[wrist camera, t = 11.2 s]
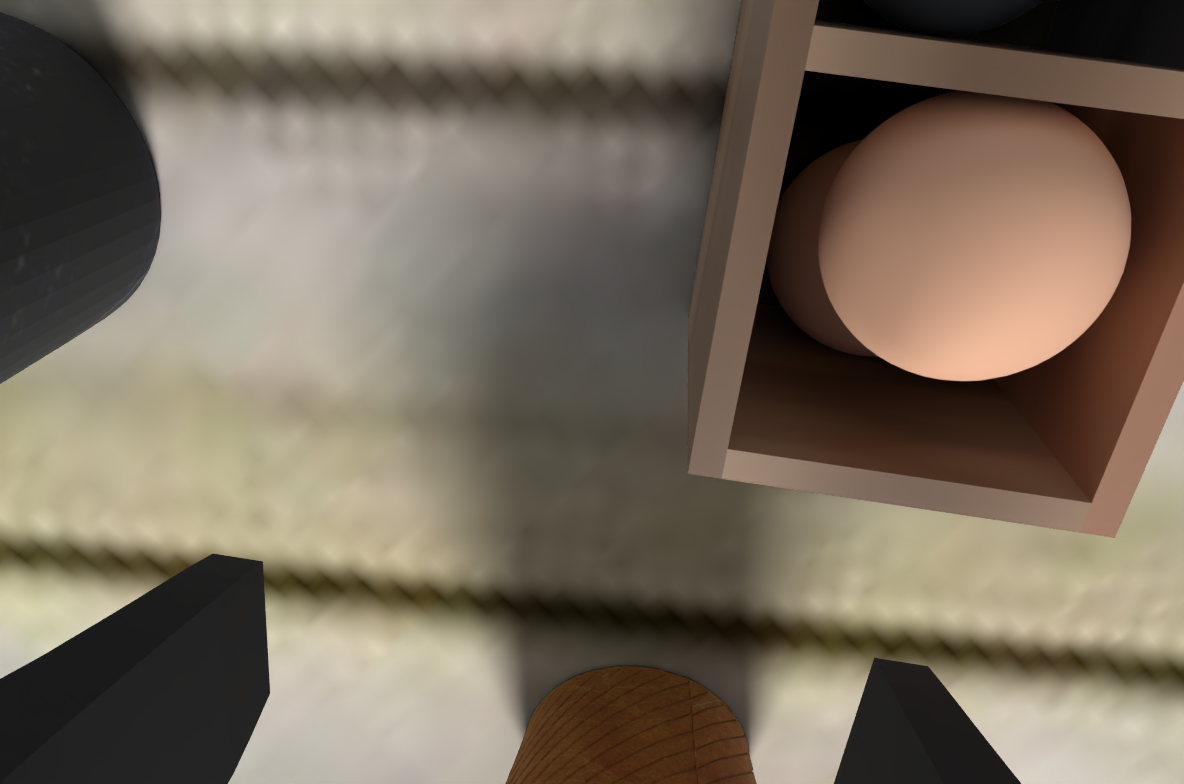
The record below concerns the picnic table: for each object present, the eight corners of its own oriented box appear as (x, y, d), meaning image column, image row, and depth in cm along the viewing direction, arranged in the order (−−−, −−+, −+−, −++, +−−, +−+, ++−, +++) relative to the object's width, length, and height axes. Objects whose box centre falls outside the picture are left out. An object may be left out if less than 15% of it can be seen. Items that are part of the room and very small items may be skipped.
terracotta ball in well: (1002, 115, 16) (1061, 225, 13) (929, 289, 19) (965, 414, 16) (788, 87, 17) (799, 191, 14) (746, 265, 19) (748, 384, 16)
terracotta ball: (1011, 223, 15) (1177, 47, 11) (1036, 440, 13) (1238, 314, 10) (784, 189, 15) (879, -2, 11) (780, 404, 13) (891, 262, 10)
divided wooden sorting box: (1193, -329, 14) (1610, -596, 8) (972, 356, 19) (1114, 537, 13) (804, -370, 14) (897, -663, 8) (688, 316, 19) (687, 473, 13)
